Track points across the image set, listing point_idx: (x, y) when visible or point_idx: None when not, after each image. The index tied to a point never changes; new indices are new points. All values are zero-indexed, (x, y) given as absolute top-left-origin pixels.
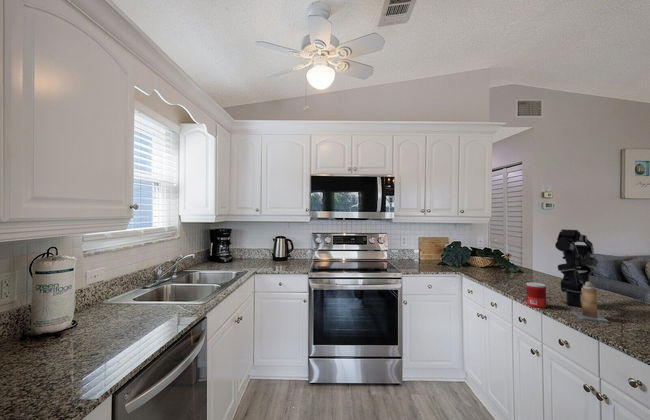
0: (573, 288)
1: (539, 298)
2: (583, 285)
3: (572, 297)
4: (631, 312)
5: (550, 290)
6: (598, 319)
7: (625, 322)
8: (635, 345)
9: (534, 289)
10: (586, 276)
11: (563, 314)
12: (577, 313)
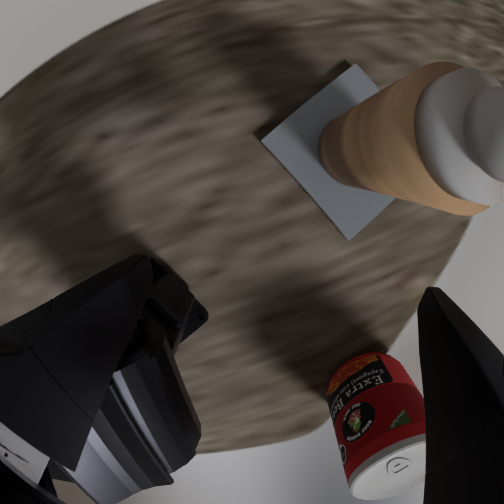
0: (175, 362)
1: (416, 389)
2: (490, 201)
3: (180, 328)
4: (38, 105)
5: None
6: None
7: (257, 25)
8: (494, 4)
9: None
10: (45, 354)
11: (412, 252)
12: (370, 207)
